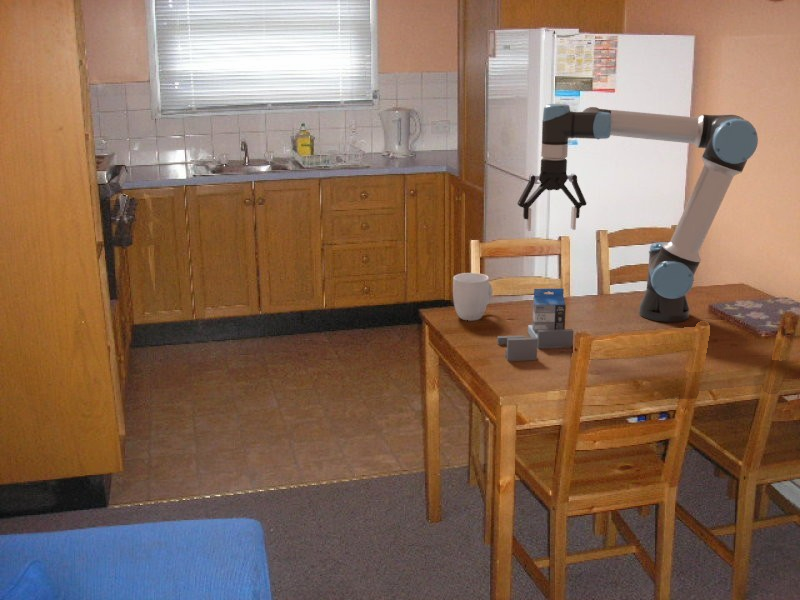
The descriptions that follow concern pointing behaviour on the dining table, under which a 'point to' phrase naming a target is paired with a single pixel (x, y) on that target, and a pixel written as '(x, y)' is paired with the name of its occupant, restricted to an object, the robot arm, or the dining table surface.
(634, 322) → the dining table surface
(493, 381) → the dining table surface
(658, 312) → the robot arm
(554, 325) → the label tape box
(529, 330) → the dock
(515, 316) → the dining table surface
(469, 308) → the mug
